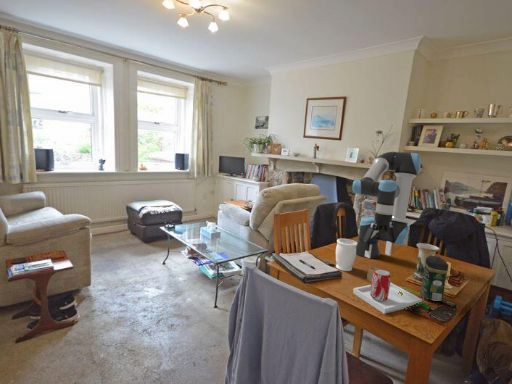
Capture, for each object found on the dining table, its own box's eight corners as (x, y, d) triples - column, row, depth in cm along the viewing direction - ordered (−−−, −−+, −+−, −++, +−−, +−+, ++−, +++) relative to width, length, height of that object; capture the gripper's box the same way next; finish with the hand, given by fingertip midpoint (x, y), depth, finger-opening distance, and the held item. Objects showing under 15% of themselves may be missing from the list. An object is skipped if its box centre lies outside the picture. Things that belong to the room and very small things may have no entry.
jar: (355, 273, 147) (358, 245, 145) (334, 270, 149) (337, 243, 147) (352, 265, 157) (355, 239, 155) (333, 262, 159) (336, 237, 157)
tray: (387, 285, 136) (388, 281, 136) (421, 304, 121) (422, 299, 121) (352, 292, 127) (353, 288, 126) (384, 314, 112) (385, 308, 111)
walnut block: (373, 278, 143) (375, 267, 142) (381, 283, 139) (383, 271, 138) (366, 279, 141) (368, 268, 140) (374, 284, 137) (376, 272, 136)
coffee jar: (418, 290, 133) (424, 252, 130) (437, 294, 131) (444, 255, 128) (423, 300, 124) (430, 260, 121) (444, 304, 122) (452, 263, 119)
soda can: (385, 304, 117) (389, 277, 115) (367, 298, 121) (371, 272, 119) (388, 297, 123) (392, 271, 121) (371, 292, 127) (375, 266, 125)
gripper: (395, 210, 143) (389, 251, 146) (358, 211, 132) (352, 255, 135) (408, 214, 136) (402, 256, 139) (370, 215, 126) (364, 261, 129)
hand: (377, 256), depth 137 cm, fingers open, 13 cm apart
